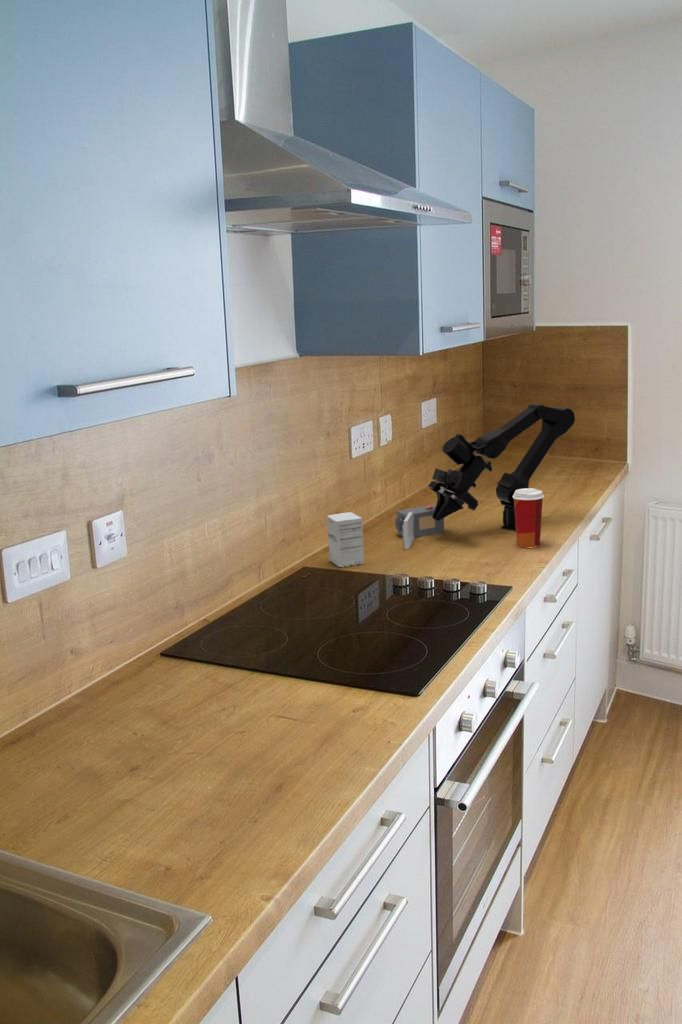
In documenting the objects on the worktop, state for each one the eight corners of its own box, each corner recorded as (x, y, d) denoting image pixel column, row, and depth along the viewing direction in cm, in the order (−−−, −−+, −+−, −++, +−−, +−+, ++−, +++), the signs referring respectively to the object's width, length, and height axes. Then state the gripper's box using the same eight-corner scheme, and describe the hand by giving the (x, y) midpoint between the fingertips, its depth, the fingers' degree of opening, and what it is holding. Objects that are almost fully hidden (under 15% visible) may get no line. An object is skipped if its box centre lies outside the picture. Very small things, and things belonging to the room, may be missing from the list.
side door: (409, 549, 242) (407, 521, 241) (402, 549, 243) (401, 521, 241) (414, 538, 253) (413, 511, 251) (408, 538, 253) (407, 511, 251)
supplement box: (328, 561, 236) (326, 515, 233) (354, 556, 239) (352, 511, 236) (338, 568, 230) (335, 521, 226) (365, 564, 232) (362, 517, 229)
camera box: (434, 527, 262) (433, 502, 261) (444, 532, 257) (443, 507, 255) (394, 534, 258) (393, 509, 256) (403, 539, 252) (402, 513, 250)
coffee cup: (532, 539, 246) (532, 486, 242) (550, 546, 238) (550, 492, 234) (506, 543, 243) (506, 490, 239) (523, 551, 235) (522, 496, 232)
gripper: (432, 452, 253) (400, 496, 251) (466, 462, 236) (432, 509, 235) (457, 475, 258) (426, 518, 256) (493, 486, 241) (459, 533, 240)
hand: (434, 519), depth 247 cm, fingers closed
